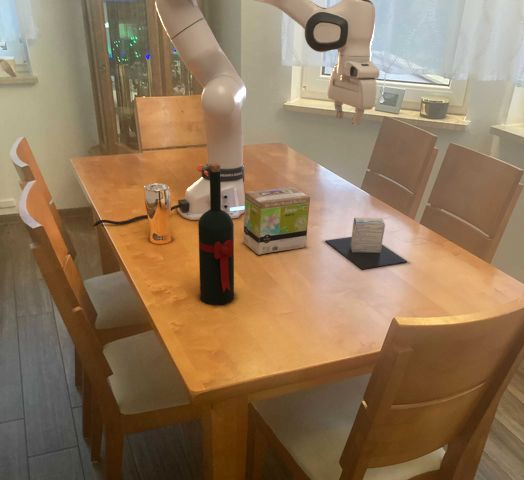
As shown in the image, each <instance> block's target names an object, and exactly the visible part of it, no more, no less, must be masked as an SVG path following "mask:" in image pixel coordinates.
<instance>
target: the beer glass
mask: <svg viewBox="0 0 524 480" xmlns="http://www.w3.org/2000/svg"><path fill="white" fill-rule="evenodd" d="M143 188H144V189H143V190H144V193H143V194H144V195H143V197H144V207H145V208H144V209H145V212H146V215H147V216H148V218H147V220H148V224H149V229H150V231H149V242H151V243H152V244H155V245H163V244H168V243H170V242H171V241H172V239H173V238H172V234H171V229H170V224H171V223H170V222H171V221H170V220H171V212H172V211H171V207H172V200H171V191H170V186H169V185H168V184H166V183H160V182H155V183H149V184H145V185H144V187H143Z"/></svg>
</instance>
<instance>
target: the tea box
mask: <svg viewBox="0 0 524 480" xmlns="http://www.w3.org/2000/svg"><path fill="white" fill-rule="evenodd" d="M244 195H245V207H244V213H243V234H242V235H243V239H242V240H243V241H242V242H243V244H245V245H246V246H247V247H248V248H249V249H251V251H253V252H254V253H255V254H257V255H258V256H260V255H265V254H270V253H276V252H282V251H289V250H296V249H304V248H306V246H307V245H306V243H307V234H308V225H309V213H310V203H311V196H309V195H307V194H306V193H304V192H302V191H301V190H300V189H297V188H296V187H294V186H287V187H278V188H269V189H261V190H252V191H244Z"/></svg>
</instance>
